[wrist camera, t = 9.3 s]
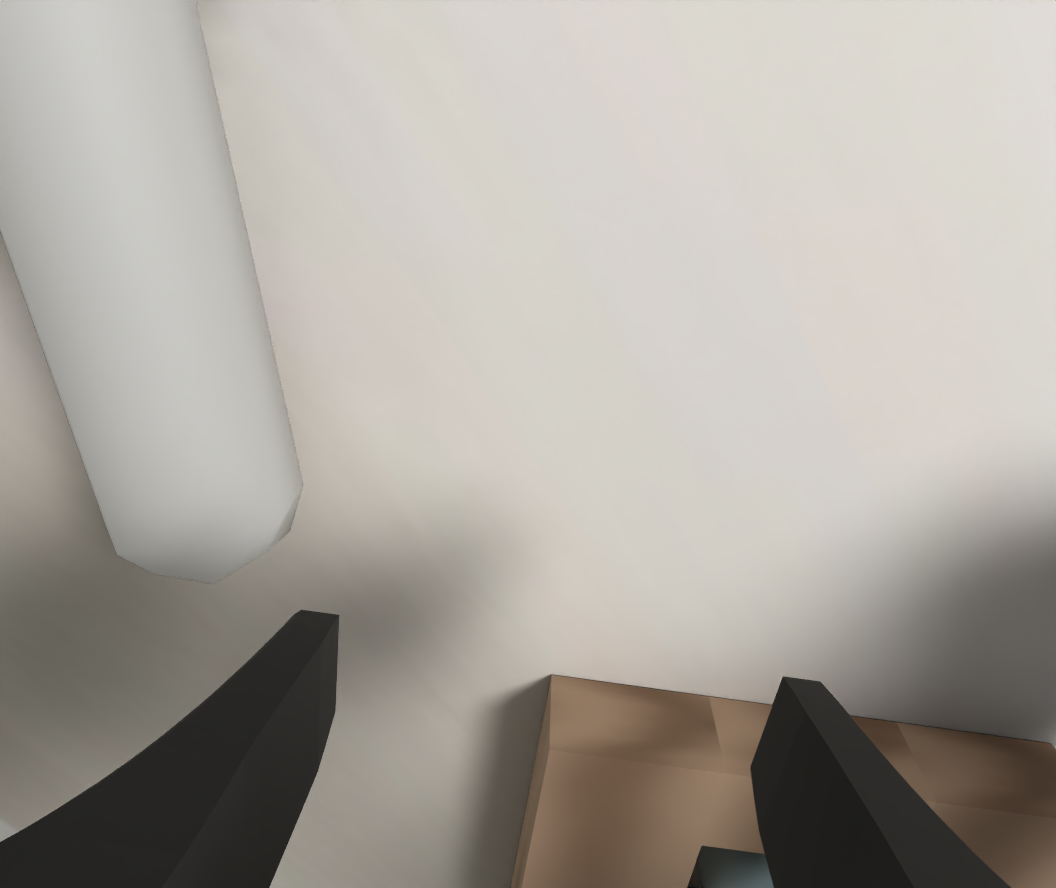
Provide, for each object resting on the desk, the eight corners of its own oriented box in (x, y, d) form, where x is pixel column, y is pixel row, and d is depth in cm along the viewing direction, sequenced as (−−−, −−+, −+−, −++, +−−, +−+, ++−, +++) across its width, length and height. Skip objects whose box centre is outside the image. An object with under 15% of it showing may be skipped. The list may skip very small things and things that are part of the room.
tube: (330, 594, 19) (-100, -1350, 8) (93, 646, 18) (-774, -1535, 7) (320, 493, 24) (36, -834, 13) (131, 529, 23) (-356, -896, 12)
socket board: (1051, 743, 25) (1110, 825, 22) (918, 971, 30) (953, 1060, 28) (551, 675, 25) (549, 749, 22) (504, 916, 30) (498, 1001, 27)
